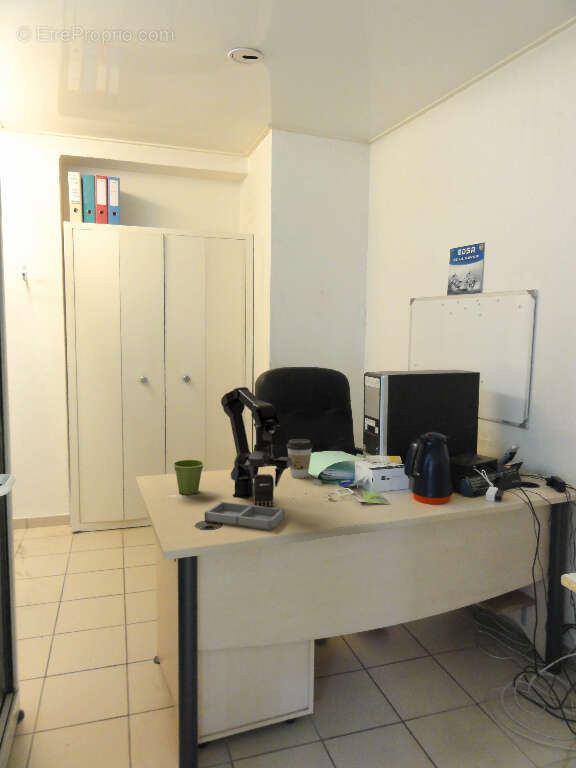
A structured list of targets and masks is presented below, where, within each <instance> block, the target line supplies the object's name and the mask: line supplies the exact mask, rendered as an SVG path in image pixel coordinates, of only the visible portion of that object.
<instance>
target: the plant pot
mask: <svg viewBox="0 0 576 768" xmlns="http://www.w3.org/2000/svg"><path fill="white" fill-rule="evenodd" d="M172 466H173V467H174V471H175V475H176V481H177V487H178V493H179V492H180V493H179V494H183V495H185V494H188V495H194V494H193V493H196V492H197V493H198V492H199V490H200V484H201V483H200V482H201V477H202V471H203V469H204V466H205V462H204V461H202V460H200V459H199V460H198V459H181V460H176V461H174V462H173V463H172ZM197 493H196V494H197Z"/></svg>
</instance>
